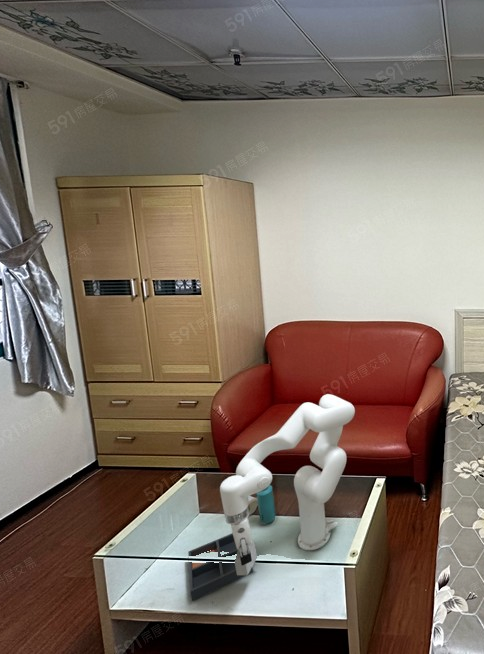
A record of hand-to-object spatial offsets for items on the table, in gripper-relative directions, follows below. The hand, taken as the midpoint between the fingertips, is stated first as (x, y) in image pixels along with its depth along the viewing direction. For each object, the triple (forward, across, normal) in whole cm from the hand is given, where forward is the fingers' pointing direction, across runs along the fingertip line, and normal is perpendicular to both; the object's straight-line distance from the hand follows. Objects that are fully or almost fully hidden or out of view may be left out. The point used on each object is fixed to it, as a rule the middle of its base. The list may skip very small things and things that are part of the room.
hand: (244, 553), depth 142 cm
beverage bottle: (+16, +29, -11) cm, 34 cm away
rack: (+15, +16, +8) cm, 23 cm away
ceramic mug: (+16, +41, -5) cm, 44 cm away
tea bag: (+6, 0, 0) cm, 6 cm away
